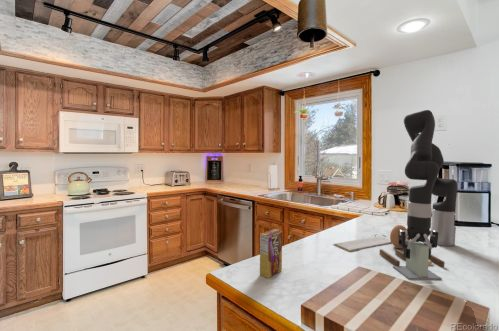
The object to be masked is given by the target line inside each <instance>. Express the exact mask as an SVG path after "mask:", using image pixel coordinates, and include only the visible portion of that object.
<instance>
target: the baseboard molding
mask: <svg viewBox="0 0 499 331" xmlns="http://www.w3.org/2000/svg"><path fill="white" fill-rule="evenodd" d="M333 244H334V245H333V246H335V245H336V246H335V247H337V246H338V248H339V249H342V250H344V249H345V250H344V251H346V250H347V251H346V252H348V253H349V252H350V251H351V252H355V250H356V251H360V250H362V249H369V248H373V247H378V246H384V245H391V244H392V243H391V240H390V238H387V235H382V236H381V235H378V234H377V233H376V234H374V236H372V237H365V238H359V239H353V240H348V241H343V242H336V243H333Z"/></svg>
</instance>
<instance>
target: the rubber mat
mask: <svg viewBox="0 0 499 331" xmlns="http://www.w3.org/2000/svg"><path fill="white" fill-rule="evenodd" d="M392 268H393V269H394V270H395V271H397V272H398V273H399V274H400V275H403V276H404V278H406V279H408V280H410V281H411V280H412V281H415V280H416V281H417V280H419V281H420V280H421V281H422V280H423V281H426V280H427V281H428V280H429V281H431V280H434V281H437V280H439V281H442V280H443V277H440V276H439V275H437V274H436V273H434V272H432V271H431V270H429V269H428V277H419V276H418V275H417V274H415V273H414V272H412V271H411V270H409V269H408V268H407V267H406V265H400V266H395V265H393V266H392Z"/></svg>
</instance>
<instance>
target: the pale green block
mask: <svg viewBox="0 0 499 331" xmlns="http://www.w3.org/2000/svg"><path fill="white" fill-rule="evenodd" d="M410 241H411V239H410ZM428 259H429V246H427V245H425V244H423V242H415V243H414V244H413V245H412V246H411V247H410V259H407V258H406V261H405V266H406V267H407V268H408V269H409V270H411V271H412V272H414V273H415V274H417V275H418V276H419V277H428V270H429V265H428Z"/></svg>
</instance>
